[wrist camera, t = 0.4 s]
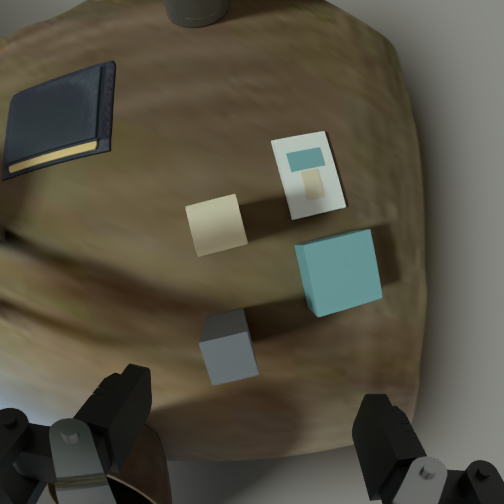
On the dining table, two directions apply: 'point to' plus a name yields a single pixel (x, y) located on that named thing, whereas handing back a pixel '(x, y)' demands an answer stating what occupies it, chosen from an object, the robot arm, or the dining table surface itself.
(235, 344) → the charcoal block
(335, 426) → the dining table surface
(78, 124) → the dark blue-grey book
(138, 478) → the plant pot
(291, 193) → the card
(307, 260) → the teal base block
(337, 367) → the dining table surface
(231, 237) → the maple block
